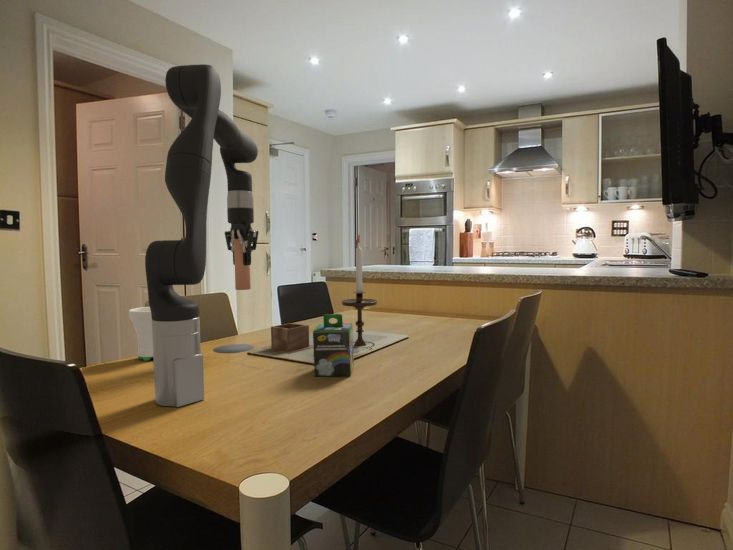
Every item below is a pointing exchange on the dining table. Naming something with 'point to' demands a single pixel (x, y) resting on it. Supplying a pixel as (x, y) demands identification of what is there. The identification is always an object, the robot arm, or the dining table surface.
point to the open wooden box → (289, 338)
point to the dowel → (241, 268)
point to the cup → (143, 331)
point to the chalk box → (333, 347)
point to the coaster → (233, 348)
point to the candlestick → (359, 298)
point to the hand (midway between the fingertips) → (242, 264)
